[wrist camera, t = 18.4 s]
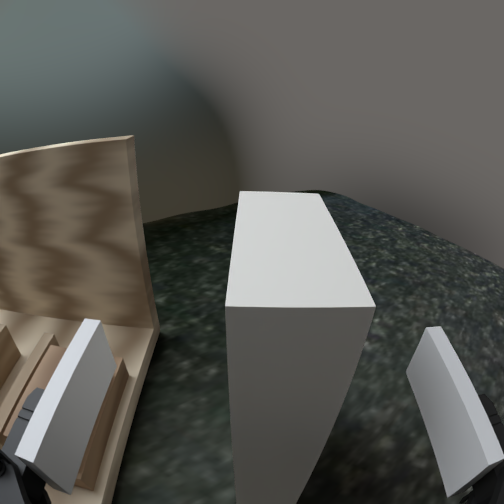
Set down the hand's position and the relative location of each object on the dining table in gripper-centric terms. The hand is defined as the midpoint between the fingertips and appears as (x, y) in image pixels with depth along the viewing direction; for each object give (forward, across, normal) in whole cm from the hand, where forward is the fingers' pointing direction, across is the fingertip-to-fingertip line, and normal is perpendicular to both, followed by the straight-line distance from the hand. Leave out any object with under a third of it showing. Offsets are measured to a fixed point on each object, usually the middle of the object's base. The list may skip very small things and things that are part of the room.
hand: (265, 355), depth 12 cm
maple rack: (+1, -18, -11) cm, 22 cm away
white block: (+1, +1, -11) cm, 11 cm away
